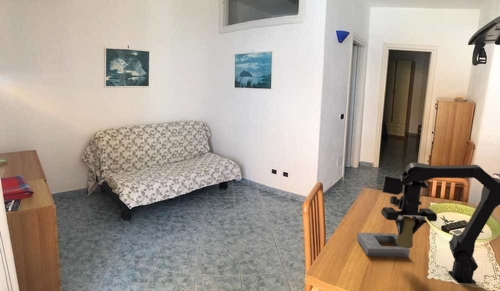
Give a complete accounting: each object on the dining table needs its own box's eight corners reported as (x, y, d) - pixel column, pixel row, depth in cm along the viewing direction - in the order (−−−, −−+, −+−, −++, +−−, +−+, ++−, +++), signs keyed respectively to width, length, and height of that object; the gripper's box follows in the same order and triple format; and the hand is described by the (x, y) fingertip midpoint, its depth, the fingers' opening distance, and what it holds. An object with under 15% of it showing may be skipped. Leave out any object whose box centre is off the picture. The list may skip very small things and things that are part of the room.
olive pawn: (397, 238, 126) (401, 212, 123) (414, 243, 122) (418, 217, 120) (393, 244, 121) (397, 218, 119) (410, 250, 117) (415, 223, 115)
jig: (408, 257, 128) (409, 249, 128) (367, 256, 128) (368, 248, 128) (394, 240, 141) (395, 233, 140) (356, 239, 141) (357, 232, 140)
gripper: (424, 189, 125) (418, 225, 129) (378, 188, 125) (373, 224, 128) (441, 200, 114) (434, 239, 118) (390, 199, 114) (384, 238, 118)
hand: (405, 234), depth 121 cm, fingers closed on olive pawn, 4 cm apart
